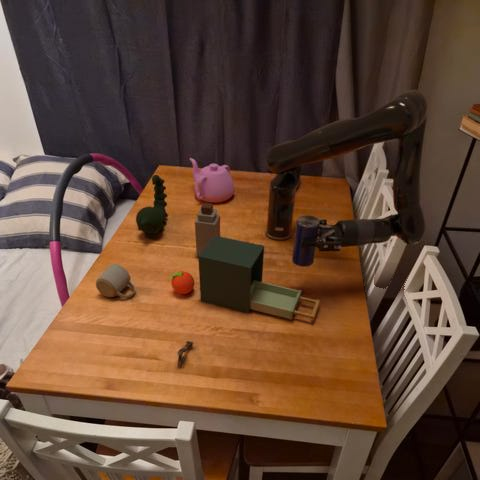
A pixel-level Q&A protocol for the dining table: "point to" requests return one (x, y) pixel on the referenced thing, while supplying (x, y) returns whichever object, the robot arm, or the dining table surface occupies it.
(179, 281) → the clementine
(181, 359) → the dark brown angled piece
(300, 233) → the navy can
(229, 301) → the cubby
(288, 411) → the dining table surface
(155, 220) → the toy figurine
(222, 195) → the teapot
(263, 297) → the drawer
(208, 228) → the perfume bottle
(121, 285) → the ceramic mug
